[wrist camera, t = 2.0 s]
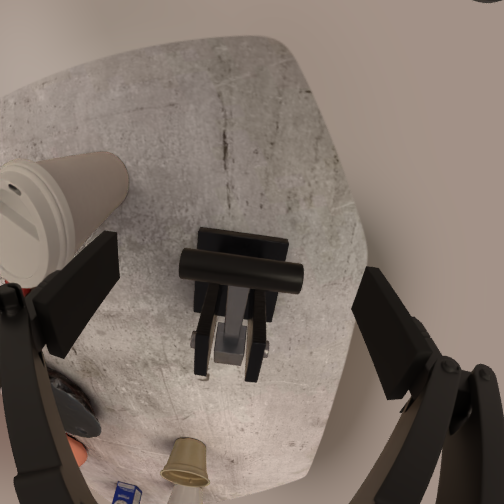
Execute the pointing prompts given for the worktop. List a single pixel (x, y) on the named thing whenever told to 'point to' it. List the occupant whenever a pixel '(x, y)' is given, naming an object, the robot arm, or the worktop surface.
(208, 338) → the lever bracket
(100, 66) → the worktop surface
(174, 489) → the mug
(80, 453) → the sugar bowl
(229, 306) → the press lever
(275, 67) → the worktop surface
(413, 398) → the robot arm
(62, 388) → the board
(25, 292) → the button
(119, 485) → the milk carton
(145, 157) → the worktop surface
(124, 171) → the coffee cup
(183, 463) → the flower pot
